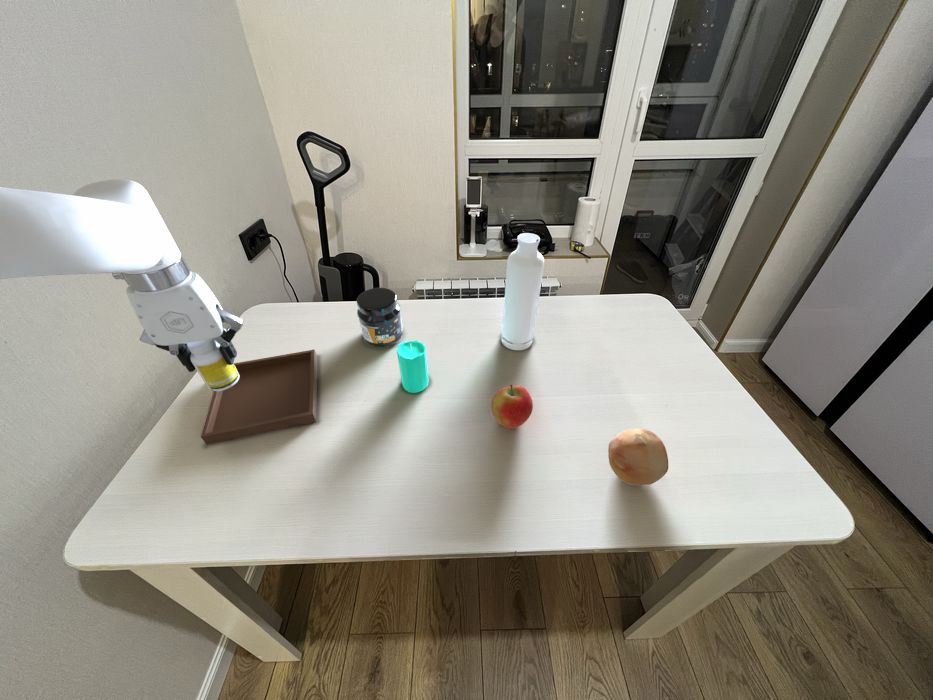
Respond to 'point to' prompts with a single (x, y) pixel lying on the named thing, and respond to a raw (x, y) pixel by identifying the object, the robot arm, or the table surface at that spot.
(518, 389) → the apple
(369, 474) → the table surface
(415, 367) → the candle
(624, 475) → the onion
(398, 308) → the supplement container
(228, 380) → the supplement bottle
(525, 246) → the bottle
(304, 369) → the tray
